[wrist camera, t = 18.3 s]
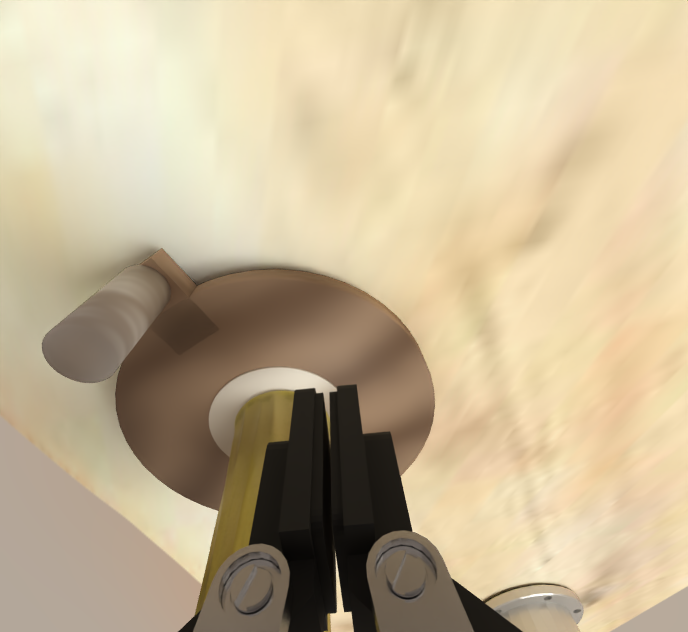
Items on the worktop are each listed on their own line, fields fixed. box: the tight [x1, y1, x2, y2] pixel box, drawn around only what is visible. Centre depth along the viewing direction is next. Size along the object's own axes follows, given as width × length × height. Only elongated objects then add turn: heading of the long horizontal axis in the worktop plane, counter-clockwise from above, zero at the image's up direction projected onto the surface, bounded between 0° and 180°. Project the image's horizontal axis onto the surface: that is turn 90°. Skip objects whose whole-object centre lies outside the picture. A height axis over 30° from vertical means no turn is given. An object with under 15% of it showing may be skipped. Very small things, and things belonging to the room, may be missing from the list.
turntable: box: [42, 248, 435, 511], centre depth 22 cm, size 23×20×8 cm
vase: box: [195, 390, 331, 632], centre depth 18 cm, size 6×6×14 cm
